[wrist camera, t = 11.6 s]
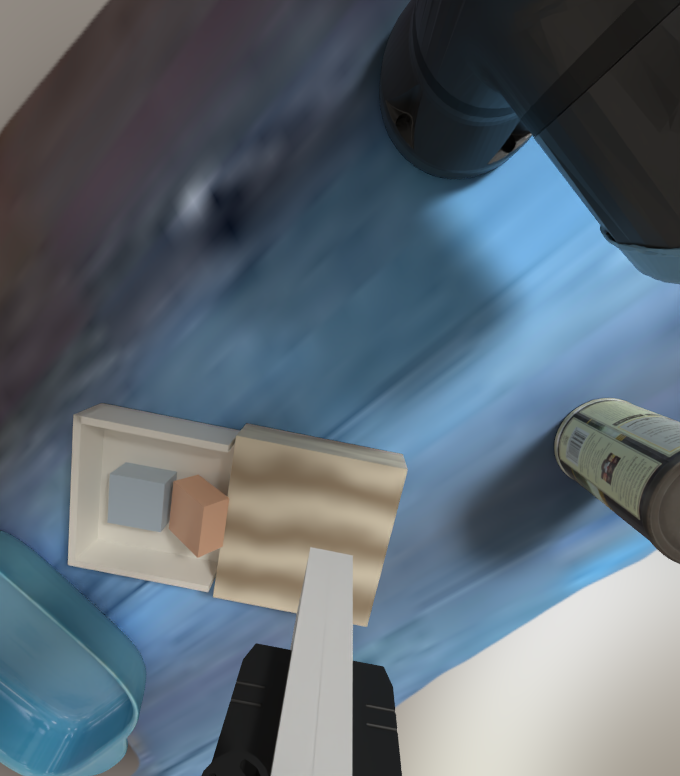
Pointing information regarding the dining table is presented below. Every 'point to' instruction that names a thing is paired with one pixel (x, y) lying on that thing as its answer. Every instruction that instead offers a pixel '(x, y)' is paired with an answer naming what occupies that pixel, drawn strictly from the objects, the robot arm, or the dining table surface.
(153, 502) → the tile rear
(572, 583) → the dining table surface
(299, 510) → the wavy grain square board
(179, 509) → the tile front
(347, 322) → the dining table surface
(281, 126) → the dining table surface
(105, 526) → the tray
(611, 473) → the coffee can
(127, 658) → the casserole dish
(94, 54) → the dining table surface
